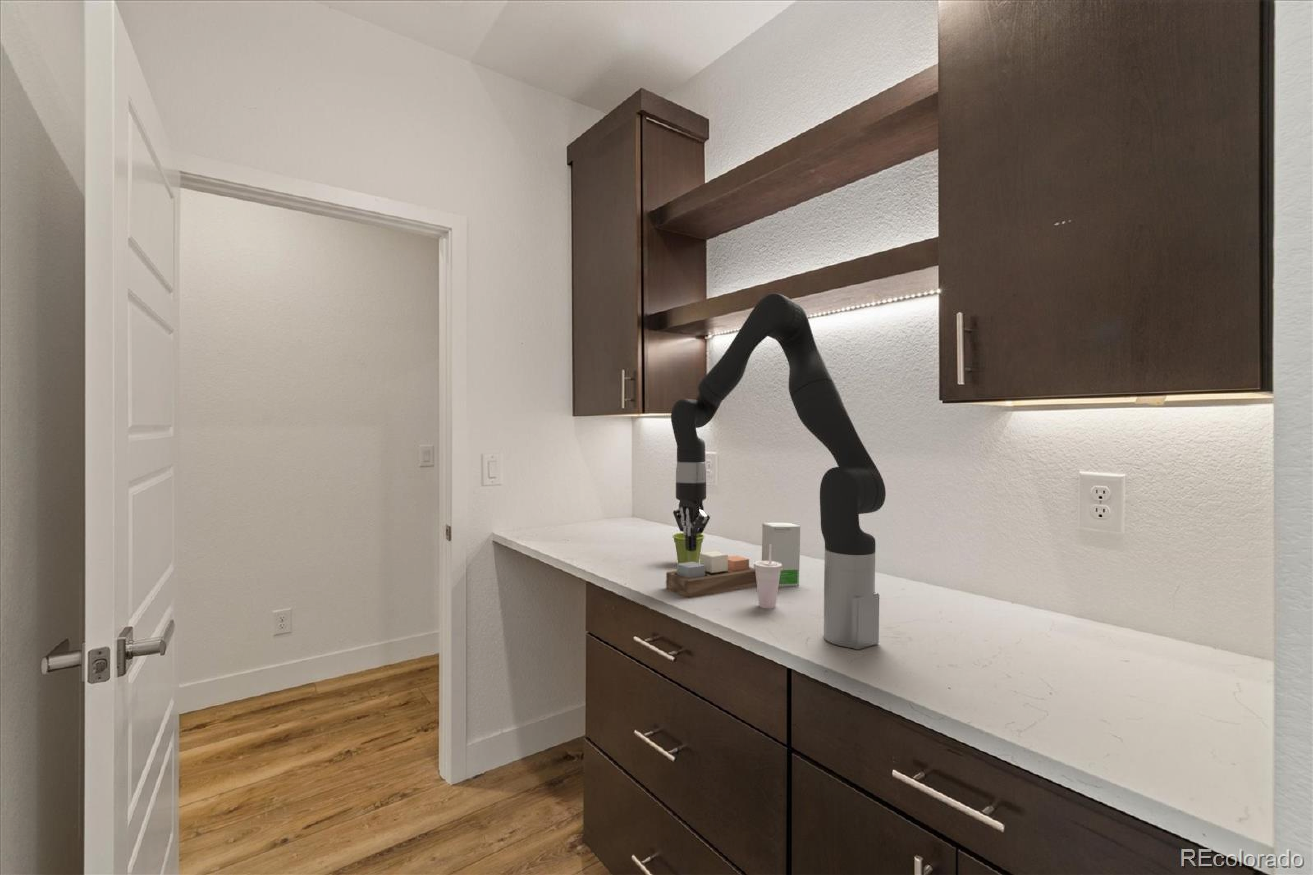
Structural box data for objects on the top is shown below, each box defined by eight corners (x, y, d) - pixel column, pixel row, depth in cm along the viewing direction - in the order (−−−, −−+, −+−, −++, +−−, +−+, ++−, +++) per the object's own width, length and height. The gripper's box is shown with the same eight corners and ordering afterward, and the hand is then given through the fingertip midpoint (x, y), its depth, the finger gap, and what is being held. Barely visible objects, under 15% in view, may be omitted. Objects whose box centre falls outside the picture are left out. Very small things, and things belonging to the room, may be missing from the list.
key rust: (748, 574, 153) (749, 559, 153) (733, 577, 150) (733, 561, 150) (736, 570, 157) (736, 555, 157) (721, 572, 155) (721, 557, 155)
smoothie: (774, 612, 130) (774, 548, 130) (748, 606, 134) (748, 545, 134) (786, 605, 135) (787, 544, 135) (761, 600, 139) (761, 540, 139)
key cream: (727, 570, 149) (727, 554, 149) (711, 572, 147) (711, 556, 147) (715, 566, 154) (715, 551, 153) (699, 568, 151) (700, 553, 151)
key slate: (704, 581, 146) (705, 565, 146) (688, 584, 143) (688, 567, 143) (693, 577, 150) (693, 561, 150) (676, 579, 147) (676, 563, 147)
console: (759, 585, 152) (759, 570, 152) (688, 598, 140) (688, 581, 140) (735, 577, 160) (735, 562, 160) (666, 588, 149) (666, 572, 149)
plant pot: (694, 570, 167) (694, 539, 167) (666, 565, 173) (666, 536, 172) (710, 564, 175) (710, 534, 175) (682, 559, 180) (682, 531, 180)
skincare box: (770, 588, 150) (771, 526, 149) (759, 581, 156) (760, 522, 156) (800, 586, 152) (801, 525, 151) (789, 579, 158) (789, 521, 158)
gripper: (719, 481, 142) (719, 553, 142) (688, 478, 154) (688, 544, 154) (694, 482, 138) (693, 557, 138) (663, 479, 150) (663, 547, 150)
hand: (690, 550), depth 146 cm, fingers closed
